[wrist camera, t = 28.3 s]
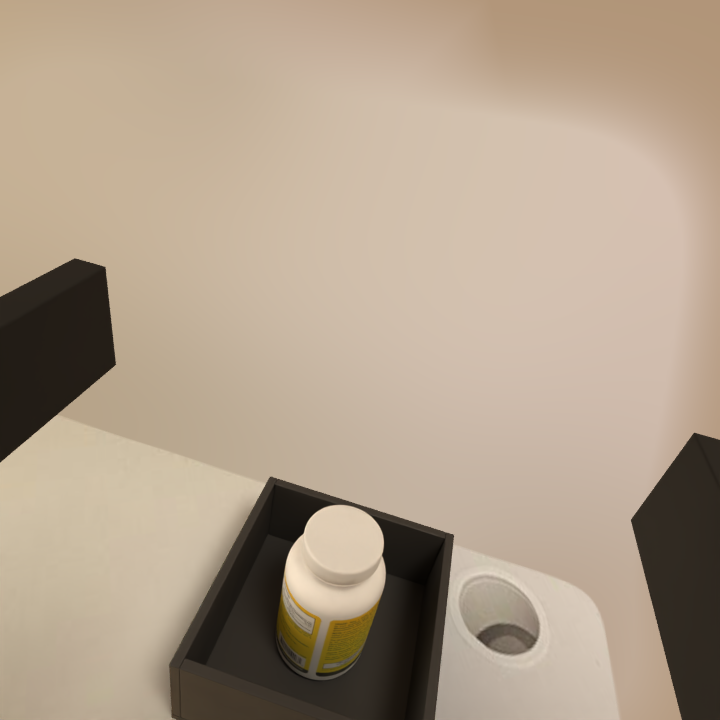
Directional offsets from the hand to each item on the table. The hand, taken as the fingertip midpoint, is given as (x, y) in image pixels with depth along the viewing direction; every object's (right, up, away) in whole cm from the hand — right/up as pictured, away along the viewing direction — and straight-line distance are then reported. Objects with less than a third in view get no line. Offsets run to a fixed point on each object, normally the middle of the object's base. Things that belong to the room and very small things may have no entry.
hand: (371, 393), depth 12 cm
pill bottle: (-3, -19, +24) cm, 31 cm away
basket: (-3, -19, +24) cm, 31 cm away
